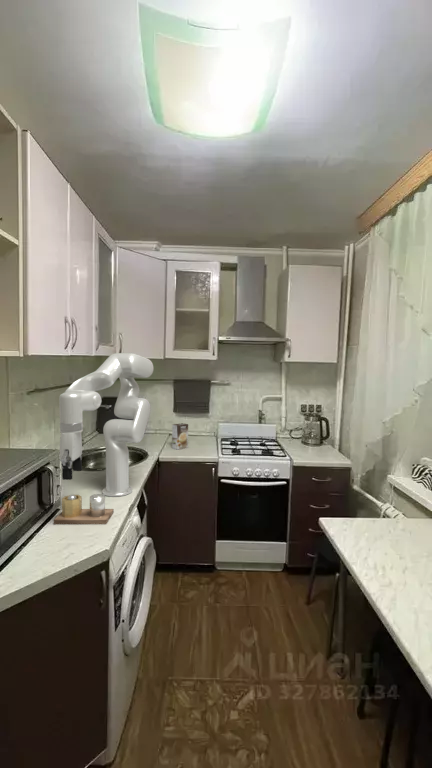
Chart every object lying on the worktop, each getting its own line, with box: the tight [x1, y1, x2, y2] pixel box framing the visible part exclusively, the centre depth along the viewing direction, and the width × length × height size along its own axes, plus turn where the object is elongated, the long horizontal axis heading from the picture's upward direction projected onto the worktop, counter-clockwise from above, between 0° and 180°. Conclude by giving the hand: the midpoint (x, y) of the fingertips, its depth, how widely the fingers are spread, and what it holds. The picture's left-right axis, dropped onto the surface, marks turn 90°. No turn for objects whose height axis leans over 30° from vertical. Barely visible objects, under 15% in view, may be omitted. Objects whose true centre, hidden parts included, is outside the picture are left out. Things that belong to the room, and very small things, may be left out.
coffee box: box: [171, 423, 189, 450], centre depth 248 cm, size 9×6×16 cm
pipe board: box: [53, 508, 114, 525], centre depth 132 cm, size 10×18×2 cm, turn 92°
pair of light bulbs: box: [67, 493, 106, 517], centre depth 132 cm, size 5×13×7 cm, turn 91°
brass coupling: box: [61, 494, 83, 518], centre depth 132 cm, size 6×6×6 cm
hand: (72, 475), depth 132 cm, fingers open, 9 cm apart
